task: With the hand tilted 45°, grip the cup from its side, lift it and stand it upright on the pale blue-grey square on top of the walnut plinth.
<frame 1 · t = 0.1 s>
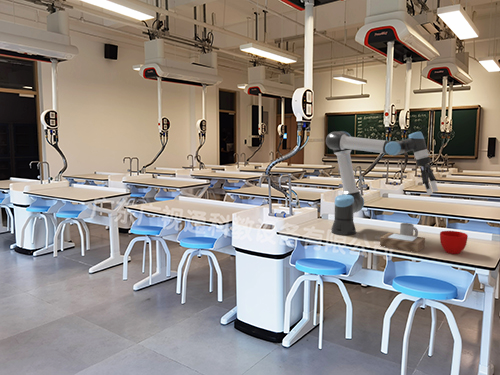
hand: (433, 193, 230), 28 cm above the table, tool tilted 20°, fingers open, 13 cm apart
ceramic cup: (450, 251, 212), on the table
plinth: (402, 246, 221), on the table
cup: (408, 239, 235), on the table
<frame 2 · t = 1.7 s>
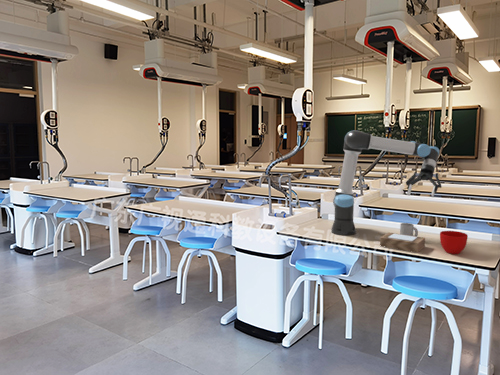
hand: (420, 194, 236), 26 cm above the table, tool tilted 45°, fingers open, 13 cm apart
nothing on the table moved.
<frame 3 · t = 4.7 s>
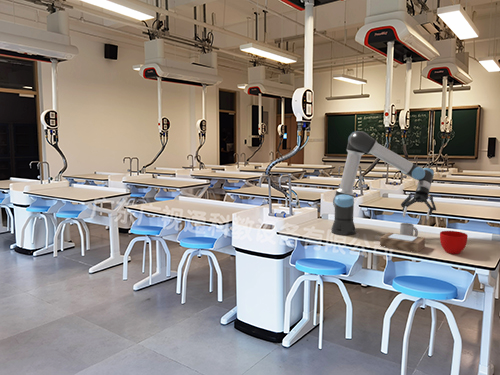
hand: (415, 217, 239), 12 cm above the table, tool tilted 45°, fingers open, 13 cm apart
nothing on the table moved.
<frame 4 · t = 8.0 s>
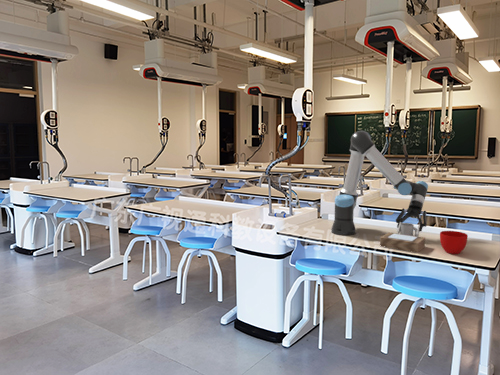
hand: (407, 233, 232), 4 cm above the table, tool tilted 45°, fingers closed on cup, 10 cm apart
cup: (408, 239, 235), on the table, touching gripper
everything else where it was.
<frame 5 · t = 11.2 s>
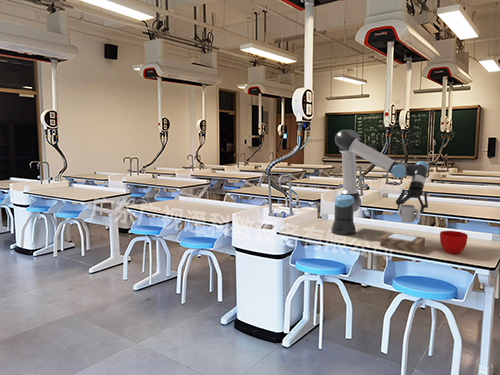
hand: (408, 215, 223), 16 cm above the table, tool tilted 45°, fingers closed on cup, 10 cm apart
cup: (409, 221, 227), point 12 cm above the table, touching gripper
everything else where it was.
when the fingers open (11 cm above the table, at t = 14.7 s): cup drops 1 cm, resting on plinth.
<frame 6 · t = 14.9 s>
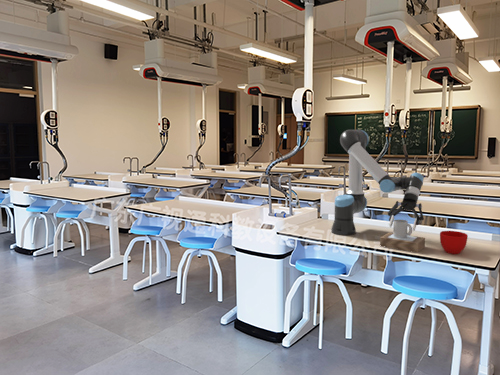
hand: (401, 227, 217), 11 cm above the table, tool tilted 45°, fingers open, 12 cm apart
cup: (402, 237, 220), point 5 cm above the table, touching plinth
everything else where it was.
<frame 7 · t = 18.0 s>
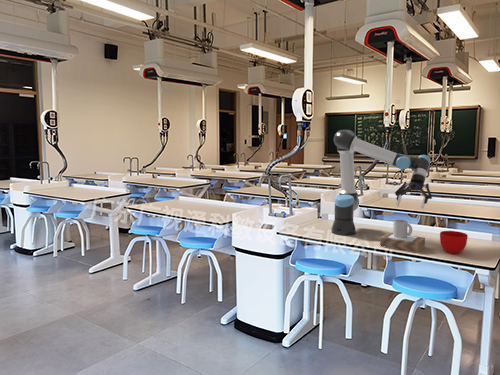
hand: (409, 206, 226), 21 cm above the table, tool tilted 45°, fingers open, 13 cm apart
nothing on the table moved.
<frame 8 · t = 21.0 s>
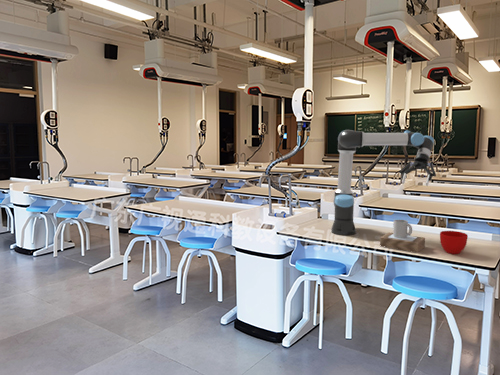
hand: (414, 183, 235), 33 cm above the table, tool tilted 45°, fingers open, 13 cm apart
nothing on the table moved.
at the end: cup inside the target area on the plinth (0.1 cm from its centre), point 5.1 cm above the plinth's base; cup tilted 0°; the gripper is holding nothing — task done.
